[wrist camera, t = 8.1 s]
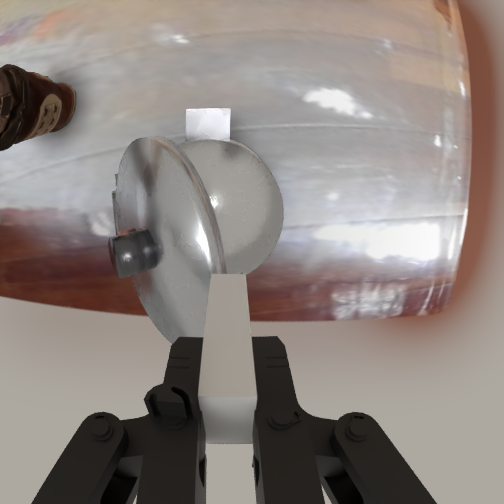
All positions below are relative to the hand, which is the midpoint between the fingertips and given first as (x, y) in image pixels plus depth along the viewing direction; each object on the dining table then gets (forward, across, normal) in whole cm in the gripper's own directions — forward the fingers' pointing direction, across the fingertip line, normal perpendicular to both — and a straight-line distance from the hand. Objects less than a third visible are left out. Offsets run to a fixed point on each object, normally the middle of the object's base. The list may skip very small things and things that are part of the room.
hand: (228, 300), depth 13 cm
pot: (+21, -2, 0) cm, 21 cm away
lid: (+7, -5, 0) cm, 8 cm away
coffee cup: (+22, -22, +12) cm, 33 cm away
